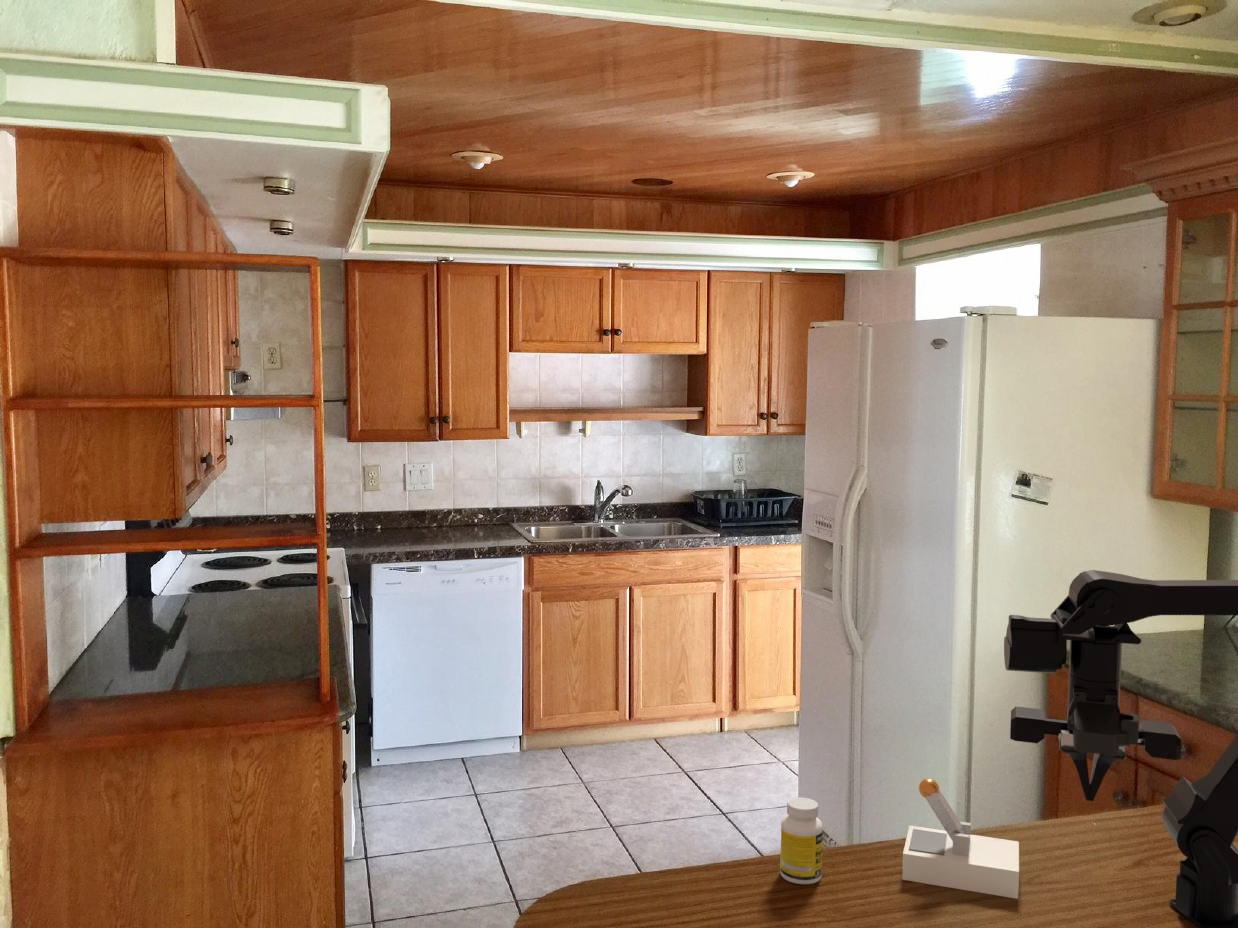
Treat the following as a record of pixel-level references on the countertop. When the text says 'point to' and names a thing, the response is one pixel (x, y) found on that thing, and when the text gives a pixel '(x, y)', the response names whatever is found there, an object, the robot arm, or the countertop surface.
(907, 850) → the switch box
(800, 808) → the supplement bottle
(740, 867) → the countertop surface
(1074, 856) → the countertop surface
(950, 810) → the switch lever
